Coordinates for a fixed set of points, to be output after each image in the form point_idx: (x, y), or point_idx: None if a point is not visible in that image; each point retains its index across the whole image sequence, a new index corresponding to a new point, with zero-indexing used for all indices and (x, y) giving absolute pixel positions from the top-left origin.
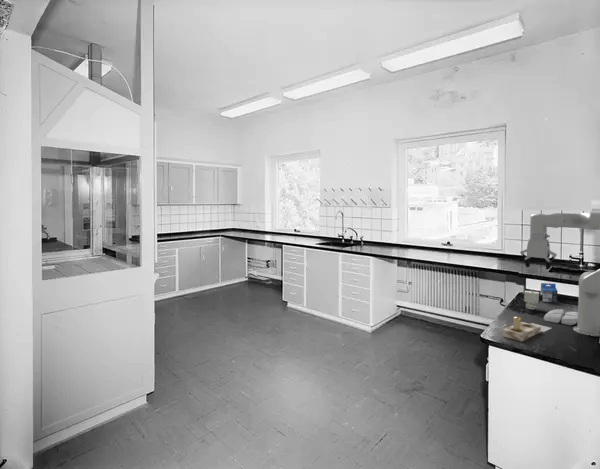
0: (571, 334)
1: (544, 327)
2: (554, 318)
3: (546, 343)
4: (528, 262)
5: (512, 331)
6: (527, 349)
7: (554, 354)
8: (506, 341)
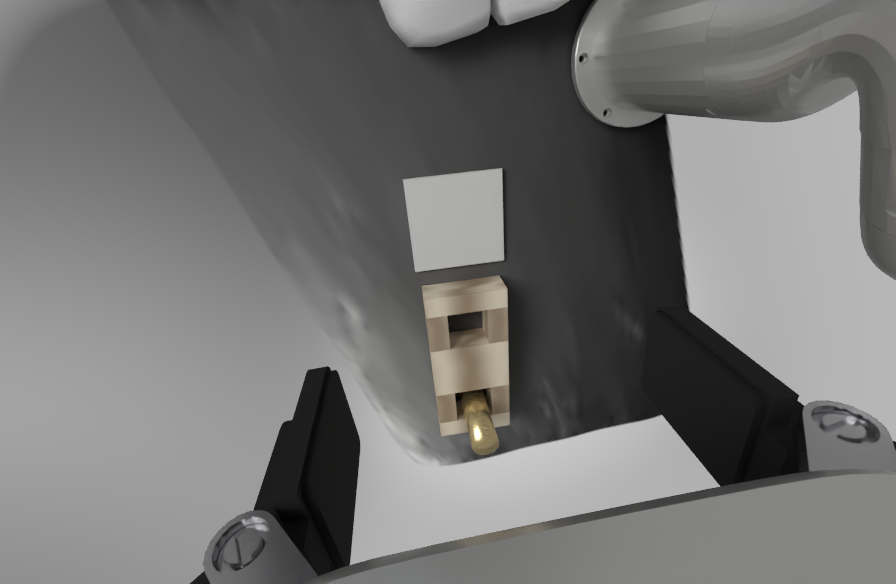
0: (587, 172)
1: (477, 194)
2: (464, 33)
3: (560, 355)
4: (341, 489)
5: None
6: (544, 438)
7: (607, 409)
8: None
